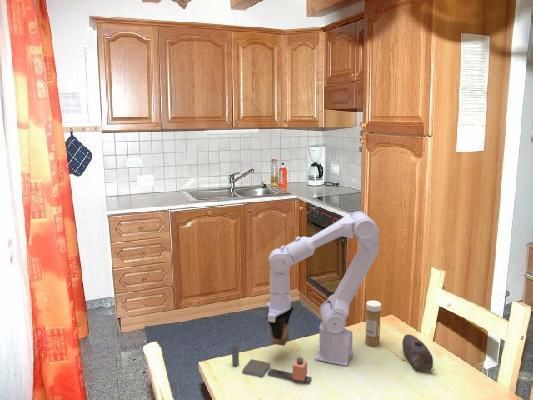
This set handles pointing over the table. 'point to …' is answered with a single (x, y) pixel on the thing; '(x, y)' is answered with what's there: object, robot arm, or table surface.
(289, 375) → the rail
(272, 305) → the robot arm
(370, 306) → the sprinkles bottle
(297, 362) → the lever handle
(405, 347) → the perforated stone tool
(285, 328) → the block
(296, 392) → the table surface
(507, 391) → the table surface
